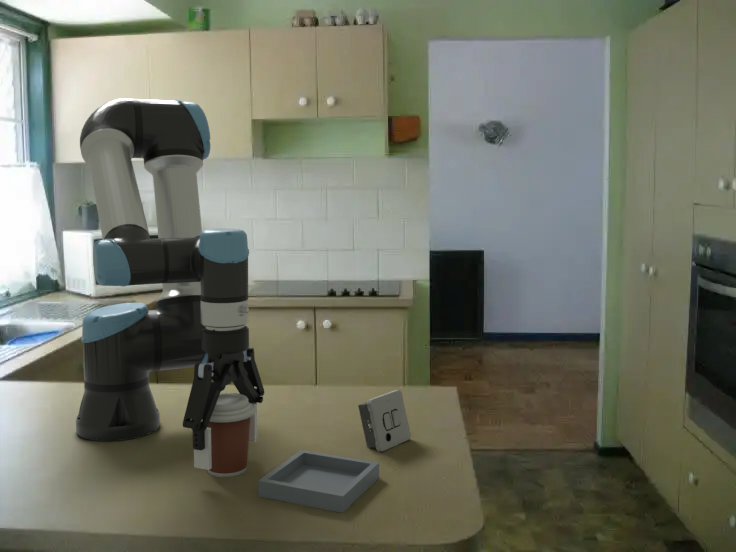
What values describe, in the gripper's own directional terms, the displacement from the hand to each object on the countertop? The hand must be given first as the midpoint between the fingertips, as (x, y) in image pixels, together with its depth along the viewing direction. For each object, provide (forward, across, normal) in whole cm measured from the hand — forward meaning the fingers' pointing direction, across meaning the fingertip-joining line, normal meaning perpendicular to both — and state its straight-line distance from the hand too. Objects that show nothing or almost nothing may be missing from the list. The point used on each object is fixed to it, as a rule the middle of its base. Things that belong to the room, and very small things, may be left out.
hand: (227, 453), depth 124 cm
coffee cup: (+3, 0, 0) cm, 3 cm away
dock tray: (+3, 0, -17) cm, 17 cm away
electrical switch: (+3, +22, -19) cm, 29 cm away
